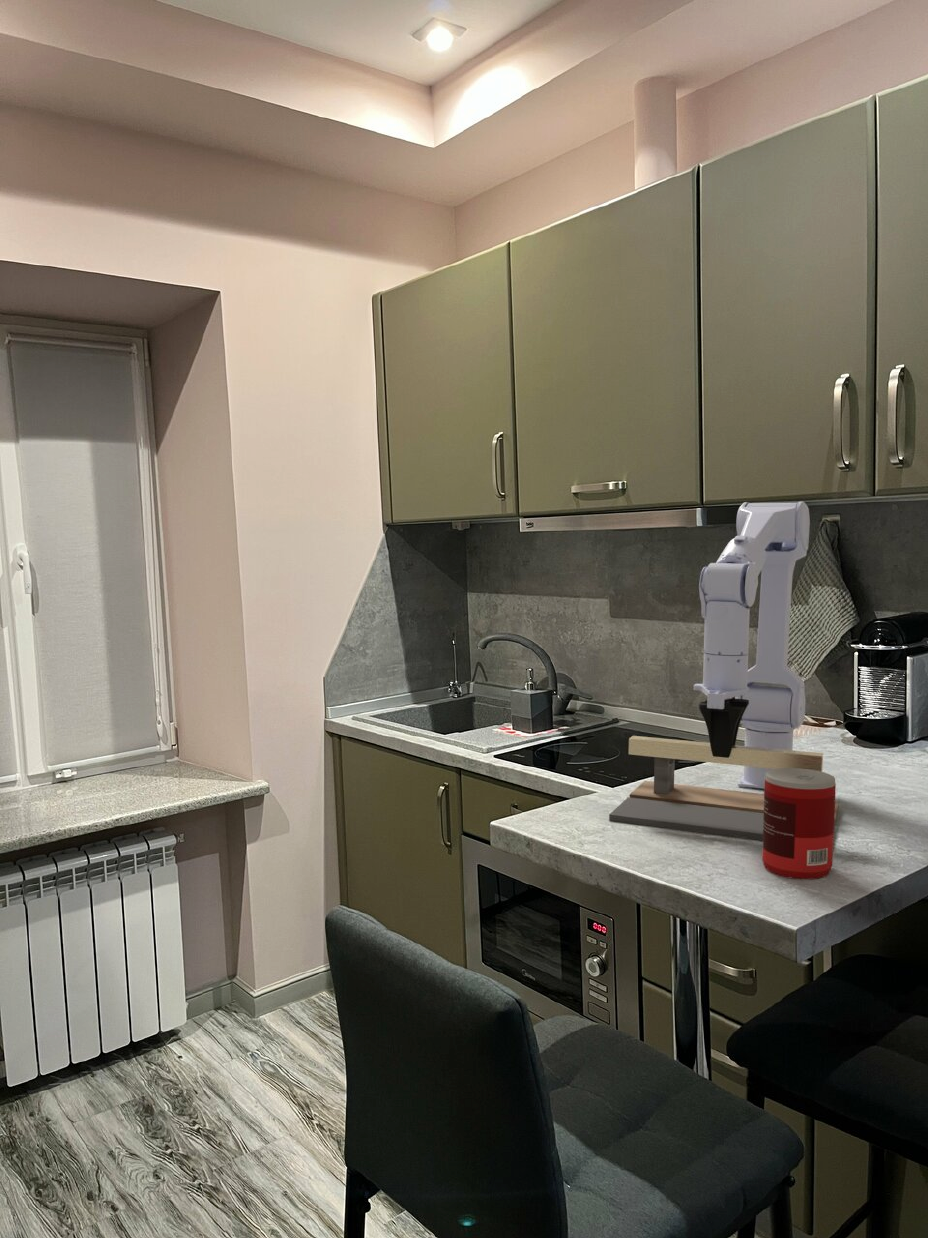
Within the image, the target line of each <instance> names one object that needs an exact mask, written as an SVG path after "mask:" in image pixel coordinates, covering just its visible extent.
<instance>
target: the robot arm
mask: <svg viewBox="0 0 928 1238" xmlns="http://www.w3.org/2000/svg"><path fill="white" fill-rule="evenodd" d="M810 519H811V518H810V509H809V507H808V505H807V504H806V502H805V501H798V502H752V503H751V502H748V501H747V502H746V501H745V502H743V503H742V504H741V505H740V506H739V508H738V510H737V514H736V521H735V522H736V523H735V524H736V525H735V526H736V534H737V535H736V536H734V538H732V539H730V541H729V542H728V543H727V545H726V546H725V548H724V549H723V551H722V552H721V554H720V556H719V557H718V559H717V560H716V562H710V563H708V565H707V566H704V567H703V568H702V570H701V572H700V576H699V582H698V583H699V584H698V590H699V591H698V592H699V600H700V603H701V606H700V607H701V608H700V609H701V611H700V613H701V618H703V619H704V628H703V630H704V632H703V633H704V635H703V666H702V669H703V671H702V683H695V684H693V691H698V692H699V691H700V692H701V693H703V694H704V695H705V696H706V697H707V699H706V700H705V701H701V702H699V704H698V709H699V711H700V713H701V715H702V717H703V720H704V722H705V726H706V730H707V733H708V734H707V735H708V739H709V743H710V746H711V751H712V755H713V756H714V757H724V758H729V756H730V753H731V749H732V745H736V743H737V738H738V734H739V733H738V732H739V729H740V725H741V728H744V746H750V747H761V748H772V749H783V750H793V747H794V731H795V730H796V729H799V728H800V727H801V726H802V725H803V723H804V720H805V716H806V715H805V714H806V702H807V701H806V694H805V689H806V688H805V682H804V679H803V677H801V676H800V675H799V674H797V673H796V672H795V671H794V670H793V669H791V667H789V666H788V658H789V657H788V653H789V640H790V624H791V623H790V621H791V607H792V605H791V604H792V589H793V575H794V570H795V567H796V566H795V565H796V562H797V561H798V560H801V559H803V558H805V557H806V556H807V551H808V550H809V541H810V524H811V521H810ZM760 573H761V577H760V591H759V610H758V623H757V625H758V626H757V642H756V657H755V658H756V659H755V665H753V666H751V667H750V668H749V667H748V666H749V647H750V646H749V645H750V644H749V642H750V639H749V638H750V617H751V616H750V614H751V613H750V611H751V607H752V606H753V605H754V603H755V600H756V596H757V595H756V594H757V589H758V587H759V586H758V585H759V578H758V577H759V575H760ZM756 683H764V684H775V685H776V684H777V685H783V686H787V687H781V686H767V685H757V684H756ZM770 770H773V769H771V768H761V767H751V766H743V775H742V776H741V778H740V779H739V780H738V782H737V786H738V787H744V788H745V787H746V788H755V789H764V788H765V776H766V772H767V771H770Z"/></svg>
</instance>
